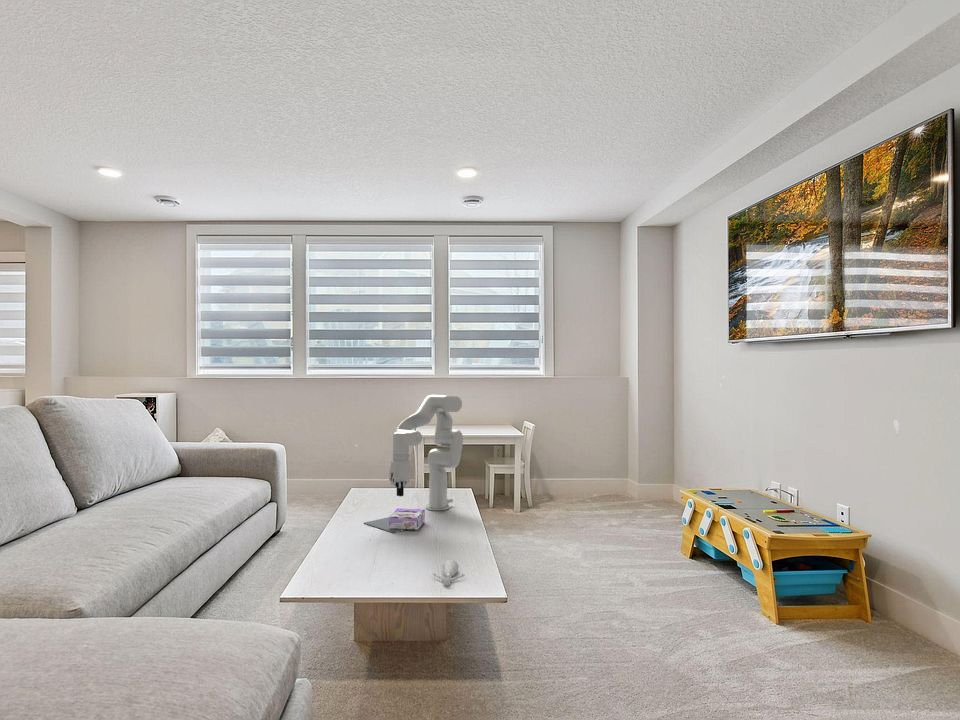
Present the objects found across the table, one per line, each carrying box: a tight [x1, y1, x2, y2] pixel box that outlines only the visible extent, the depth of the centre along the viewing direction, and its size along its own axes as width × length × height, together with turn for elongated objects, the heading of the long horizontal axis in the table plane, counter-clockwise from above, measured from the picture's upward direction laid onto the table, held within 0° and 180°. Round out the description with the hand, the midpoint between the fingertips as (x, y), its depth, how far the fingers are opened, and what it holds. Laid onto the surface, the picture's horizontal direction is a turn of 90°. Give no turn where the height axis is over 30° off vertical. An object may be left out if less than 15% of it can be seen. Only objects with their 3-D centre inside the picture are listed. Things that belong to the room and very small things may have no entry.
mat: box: [363, 516, 406, 534], centre depth 279 cm, size 17×22×1 cm
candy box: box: [388, 507, 426, 531], centre depth 277 cm, size 14×6×16 cm
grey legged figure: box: [432, 559, 466, 587], centre depth 210 cm, size 12×4×18 cm
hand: (400, 495), depth 282 cm, fingers closed
